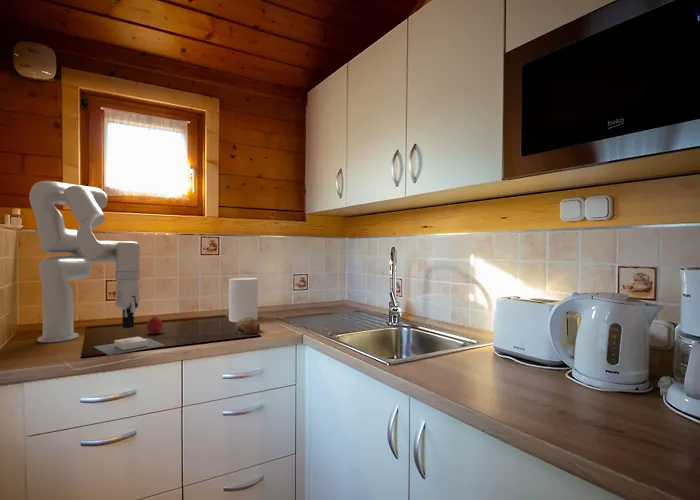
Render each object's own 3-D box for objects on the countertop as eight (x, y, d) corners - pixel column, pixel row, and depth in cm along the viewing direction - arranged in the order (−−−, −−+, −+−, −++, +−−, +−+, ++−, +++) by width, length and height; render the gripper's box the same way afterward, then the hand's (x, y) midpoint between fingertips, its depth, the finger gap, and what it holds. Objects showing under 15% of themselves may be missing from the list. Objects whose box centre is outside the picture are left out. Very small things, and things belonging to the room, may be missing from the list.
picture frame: (114, 340, 139) (122, 344, 134) (138, 336, 145) (147, 340, 140) (114, 346, 139) (122, 350, 134) (138, 342, 145) (147, 346, 140)
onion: (156, 336, 156) (156, 316, 156) (143, 336, 158) (143, 316, 158) (165, 333, 162) (165, 314, 162) (153, 333, 163) (153, 313, 163)
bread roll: (233, 341, 165) (228, 325, 162) (244, 326, 174) (240, 311, 171) (255, 342, 163) (251, 326, 159) (265, 327, 172) (261, 312, 168)
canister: (234, 316, 201) (234, 277, 201) (260, 317, 200) (260, 277, 200) (224, 322, 187) (224, 279, 187) (253, 322, 187) (253, 280, 187)
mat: (93, 348, 139) (93, 346, 139) (147, 339, 152) (147, 337, 152) (108, 357, 128) (108, 355, 128) (165, 346, 141) (165, 345, 141)
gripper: (108, 275, 143) (109, 326, 144) (124, 277, 133) (124, 332, 134) (131, 274, 149) (131, 323, 149) (147, 276, 139) (147, 328, 139)
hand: (128, 327), depth 141 cm, fingers closed
